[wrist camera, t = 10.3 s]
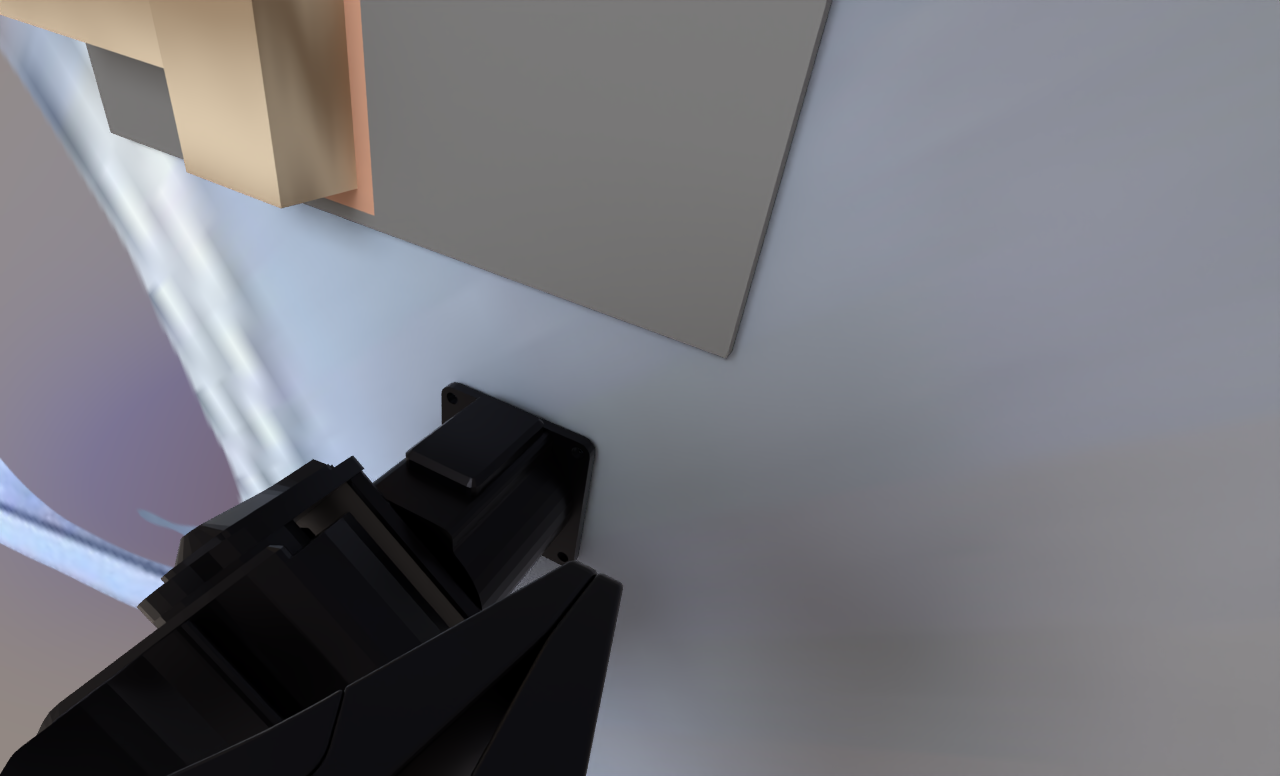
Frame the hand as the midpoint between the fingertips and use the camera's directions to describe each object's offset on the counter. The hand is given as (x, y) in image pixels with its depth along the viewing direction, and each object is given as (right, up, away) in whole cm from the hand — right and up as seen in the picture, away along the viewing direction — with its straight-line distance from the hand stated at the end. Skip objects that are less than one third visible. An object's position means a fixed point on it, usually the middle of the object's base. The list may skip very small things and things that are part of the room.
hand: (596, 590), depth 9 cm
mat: (-8, +14, +10) cm, 19 cm away
